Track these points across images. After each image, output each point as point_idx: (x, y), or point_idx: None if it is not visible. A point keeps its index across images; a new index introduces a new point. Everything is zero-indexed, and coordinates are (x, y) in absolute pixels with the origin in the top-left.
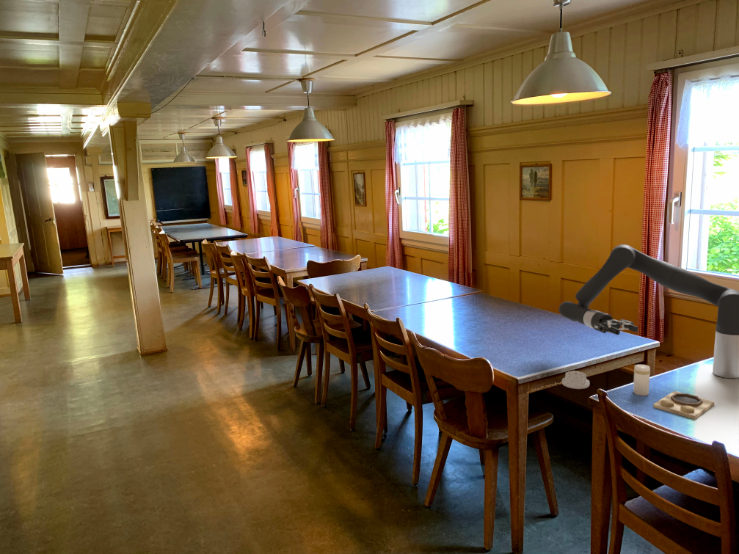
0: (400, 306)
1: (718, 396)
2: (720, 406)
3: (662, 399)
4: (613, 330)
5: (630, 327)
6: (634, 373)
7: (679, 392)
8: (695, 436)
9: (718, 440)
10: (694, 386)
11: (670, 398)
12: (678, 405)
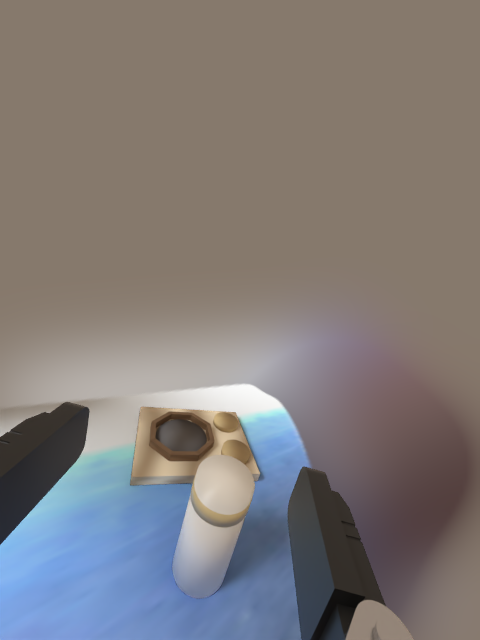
0: None
1: None
2: (138, 406)
3: None
4: (352, 535)
5: (14, 497)
6: (242, 522)
7: (134, 463)
8: (279, 406)
9: (261, 391)
10: None
11: (195, 462)
12: (218, 439)
